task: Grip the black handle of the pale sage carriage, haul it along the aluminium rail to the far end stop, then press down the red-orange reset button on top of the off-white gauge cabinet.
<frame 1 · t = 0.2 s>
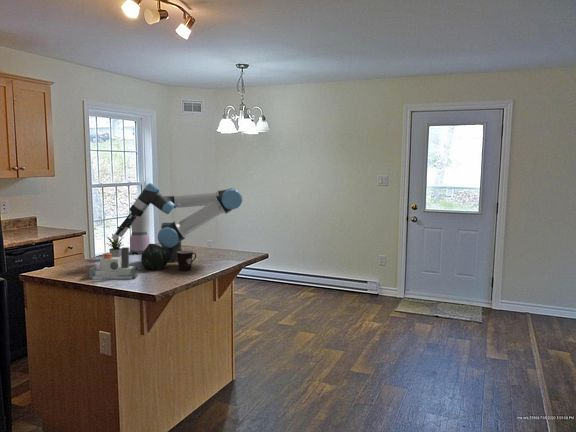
hand: (116, 237, 251), 16 cm above the table, fingers open, 13 cm apart
carriage: (125, 260, 223), point 8 cm above the table, slide at 0.0 cm
gauge cabinet: (110, 273, 232), on the table
rail base: (114, 277, 223), on the table
reset button: (107, 257, 231), point 8 cm above the table, slide at 0.0 cm
blender: (140, 252, 294), on the table
house plant: (113, 259, 271), on the table
coffee mug: (187, 270, 245), on the table
squash: (155, 268, 246), on the table
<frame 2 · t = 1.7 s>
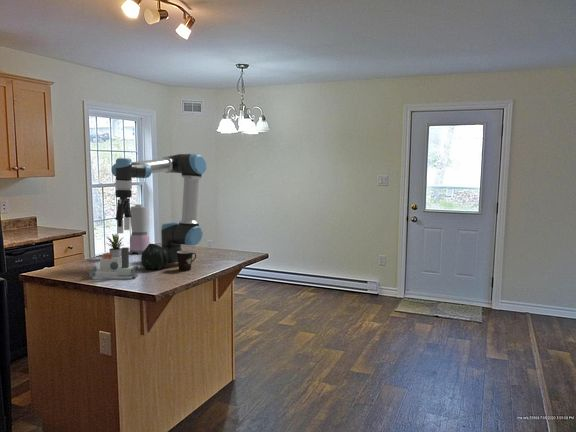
hand: (123, 231, 222), 23 cm above the table, fingers open, 13 cm apart
nothing on the table moved.
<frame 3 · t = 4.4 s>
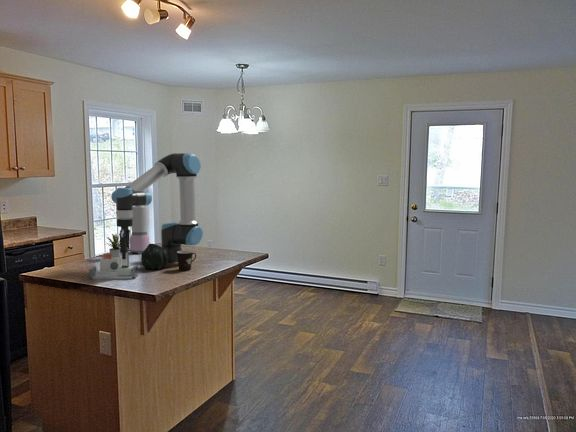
hand: (125, 264, 223), 7 cm above the table, fingers closed on carriage, 2 cm apart
carriage: (125, 260, 223), point 8 cm above the table, slide at 0.0 cm, touching gripper
everything else where it was.
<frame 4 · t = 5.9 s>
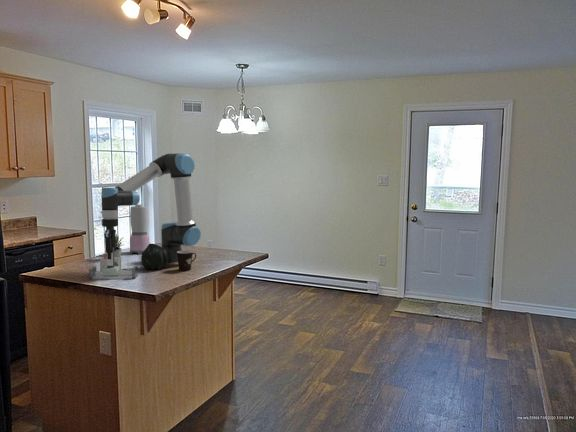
hand: (110, 264, 222), 7 cm above the table, fingers closed on carriage, 2 cm apart
carriage: (110, 261, 222), point 8 cm above the table, slide at 7.0 cm, touching gripper
everything else where it was.
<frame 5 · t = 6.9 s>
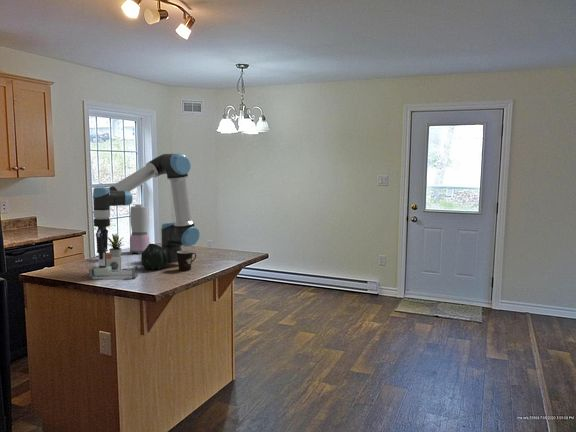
hand: (102, 264, 222), 7 cm above the table, fingers closed on carriage, 2 cm apart
carriage: (102, 261, 221), point 8 cm above the table, slide at 10.9 cm, touching gripper
everything else where it was.
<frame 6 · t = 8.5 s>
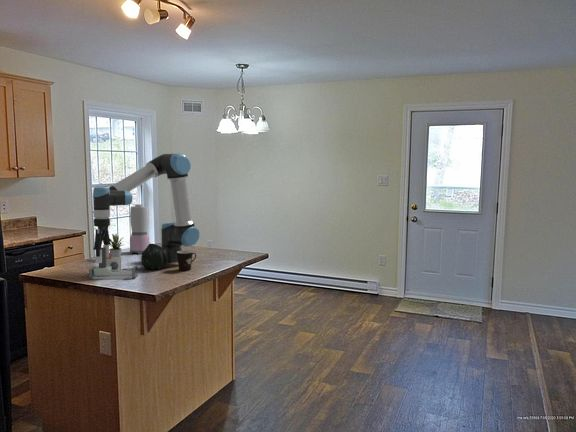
hand: (102, 260, 221), 9 cm above the table, fingers open, 13 cm apart
carriage: (102, 261, 221), point 8 cm above the table, slide at 10.9 cm
everything else where it was.
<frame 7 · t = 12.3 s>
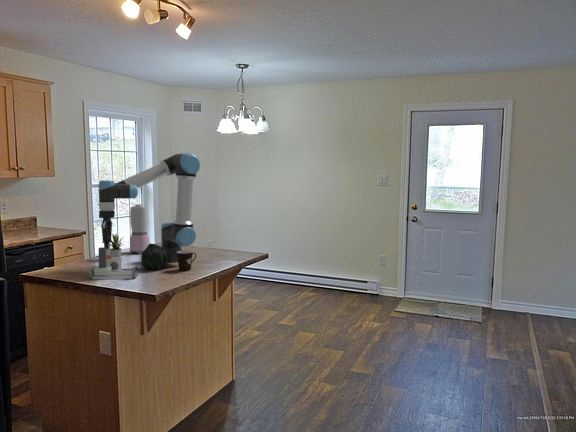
hand: (107, 255, 231), 10 cm above the table, fingers closed
reset button: (107, 259, 231), point 7 cm above the table, slide at 0.9 cm, touching gripper
everything else where it was.
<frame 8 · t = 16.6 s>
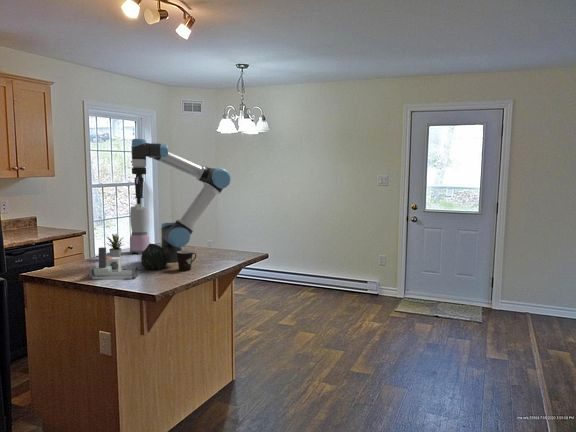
hand: (139, 209, 246), 32 cm above the table, fingers closed
reset button: (107, 260, 231), point 7 cm above the table, slide at 1.9 cm
everything else where it was.
at the end: carriage slide at 10.9 cm; reset button slide at 1.9 cm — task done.
